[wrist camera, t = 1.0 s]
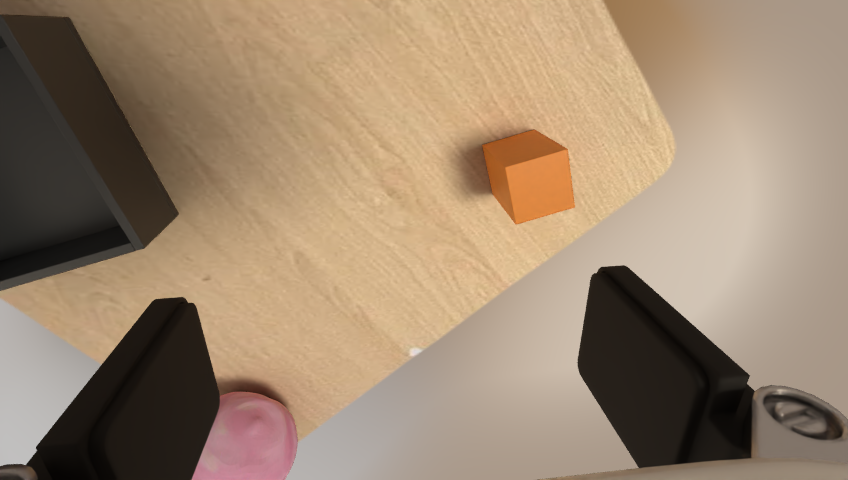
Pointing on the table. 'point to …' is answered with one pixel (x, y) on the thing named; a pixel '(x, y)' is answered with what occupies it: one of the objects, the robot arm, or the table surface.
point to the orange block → (529, 175)
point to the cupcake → (249, 440)
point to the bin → (66, 159)
